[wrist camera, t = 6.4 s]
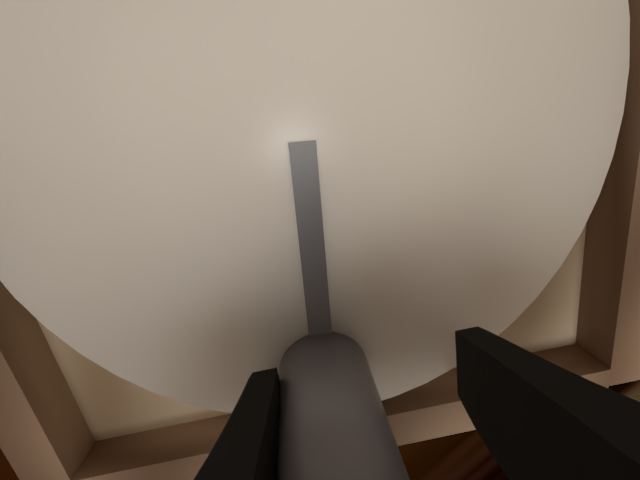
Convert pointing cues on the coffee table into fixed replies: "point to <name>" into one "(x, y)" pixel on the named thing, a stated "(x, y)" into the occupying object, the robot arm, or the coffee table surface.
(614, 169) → the dial housing
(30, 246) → the dial
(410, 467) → the coffee table surface
